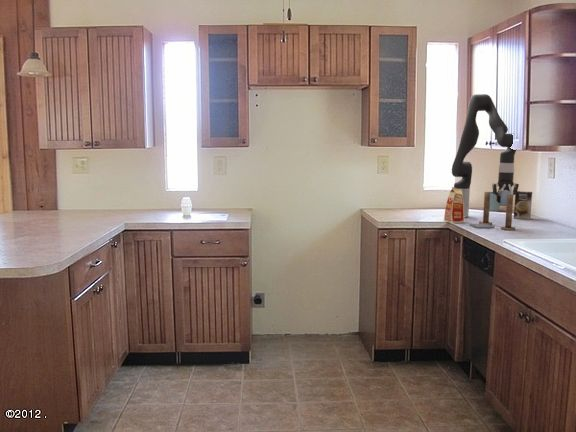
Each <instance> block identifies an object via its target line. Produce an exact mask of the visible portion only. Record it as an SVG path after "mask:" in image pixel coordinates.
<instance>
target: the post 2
mask: <svg viewBox="0 0 576 432" xmlns="http://www.w3.org/2000/svg"><path fill="white" fill-rule="evenodd" d="M513 205H514V195H507V206H505V207H506V208H505V210H506V211H505V224H504V225H503V226H501V227H500V229H501V230H503V231H515V230H516V227H515V226H512V223H513V222H512V221H513V209H514V208H513V207H514V206H513Z"/></svg>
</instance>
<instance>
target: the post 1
mask: <svg viewBox="0 0 576 432" xmlns="http://www.w3.org/2000/svg"><path fill="white" fill-rule="evenodd" d="M490 192H491V191H485V192H484V197H483V198H484V199H483V216H482V217H483V218H482V221H479V223H478V224H489V225H492V226H493V222H490V211H489V208H490Z"/></svg>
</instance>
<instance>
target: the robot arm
mask: <svg viewBox="0 0 576 432" xmlns="http://www.w3.org/2000/svg"><path fill="white" fill-rule="evenodd" d="M478 112H486V113H487V115H488V125H489V127H490V129H491V130H492V132H493V133H494V135H495V139H496V142H497V144H498V145H499V146H500V147H501V148H506V150H504V151H501V152H500V156H499V166H498V177H497V178H498V180H497V182H496V183H494V182H493V183H492V184H491V186H492V192H493V194H495V195H497V200H496V201H497V202H498V203H500V198H501V196H500V195H501V192H502V191H503V190H508V191H511V195H513V196H515V195H516V194H517V191H519V185H520V184H519V183H517V182H516V183H514V174H515V173H514V172H515V155H516V152H517V149H516V150H513V149H511V148H510V147H511V146H512V144H513V135H512V134H513V133H508V131H509V128H508V126H507V125H506V123H505V122H504V120H503V119H502V118H501V116H500V114H499V112H498V110H497V107H496V106H495V103H494V101H493V99H492V97H491V96H490V95H489V94H485V93H483V94H480V93H479V94H473V95H472V96H471V97H470V98H469V101H468V107H467V113H466V119H465V123H464V126H463V129H462V133H461V137H460V141H459V145H458V149H457V152H456V155H455V158H454V161H453V163H452V167H451V174H452V176H453V177H455V178H461V179H459V180H458V181H457V182H454V184H453V187H454V188H457V189H462V193H463V200H464V218H468V217H469V214H470V194H471V193H470V192H471V191H470V190H471V183H472V177H473V176H472V175H473V165H472V163H471V162H470V161H464V160H465V158H466V157H467V156H468V154H469V153H470V152H471V151H472V150H473V149H474V148H475V146H476V145H477V143H478V139H479V136H480V130H479V127H478V124H477V121H476V120H477V114H478ZM497 188H498V189H497Z"/></svg>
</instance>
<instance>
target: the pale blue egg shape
mask: <svg viewBox="0 0 576 432" xmlns="http://www.w3.org/2000/svg"><path fill="white" fill-rule="evenodd" d="M507 195H511V191H508V190H503V191H502V192H501V195H500V196H501V198H500V203H499V206H500V207H506V206H507Z"/></svg>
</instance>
